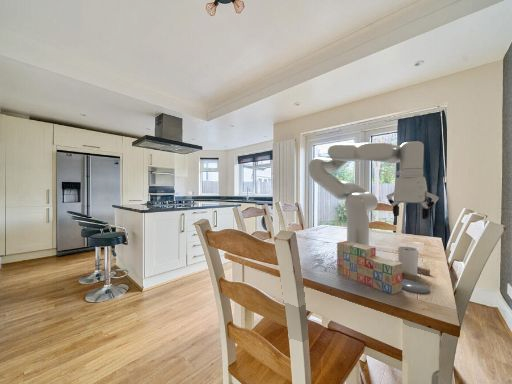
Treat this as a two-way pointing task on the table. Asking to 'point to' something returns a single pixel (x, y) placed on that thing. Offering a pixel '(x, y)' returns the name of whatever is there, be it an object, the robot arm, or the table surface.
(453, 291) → the table surface
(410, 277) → the walnut rack
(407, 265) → the white cylinder
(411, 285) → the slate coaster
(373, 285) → the stack of blocks
